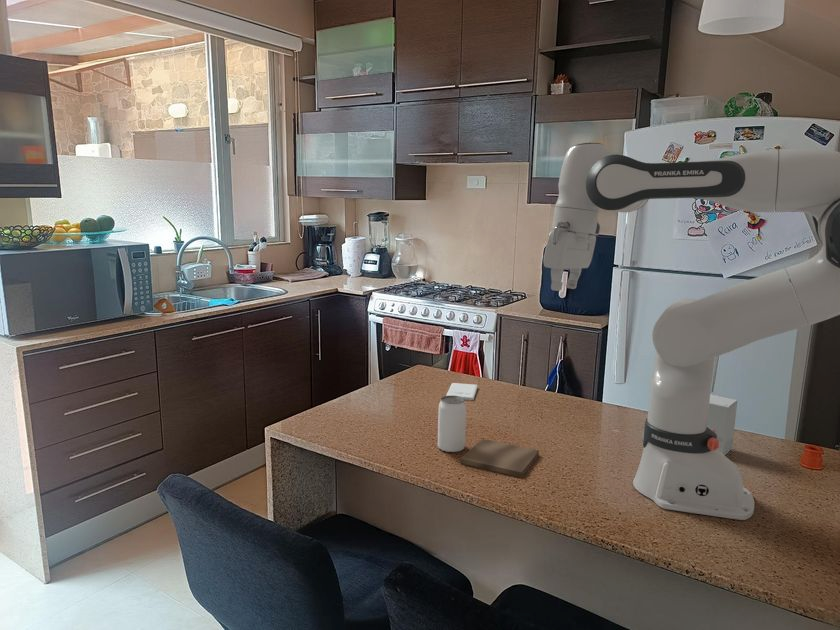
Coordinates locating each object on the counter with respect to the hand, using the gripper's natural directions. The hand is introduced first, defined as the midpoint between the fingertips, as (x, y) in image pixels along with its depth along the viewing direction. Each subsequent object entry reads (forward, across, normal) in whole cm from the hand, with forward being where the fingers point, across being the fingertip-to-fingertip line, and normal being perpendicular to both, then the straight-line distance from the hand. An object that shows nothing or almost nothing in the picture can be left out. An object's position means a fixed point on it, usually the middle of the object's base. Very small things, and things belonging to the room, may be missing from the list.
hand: (563, 289), depth 128 cm
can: (+42, -2, +20) cm, 46 cm away
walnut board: (+40, -1, +8) cm, 41 cm away
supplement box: (+35, +33, -31) cm, 58 cm away
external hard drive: (+41, +36, +38) cm, 66 cm away
